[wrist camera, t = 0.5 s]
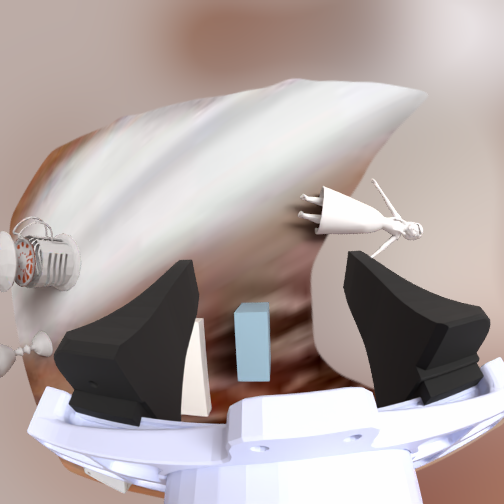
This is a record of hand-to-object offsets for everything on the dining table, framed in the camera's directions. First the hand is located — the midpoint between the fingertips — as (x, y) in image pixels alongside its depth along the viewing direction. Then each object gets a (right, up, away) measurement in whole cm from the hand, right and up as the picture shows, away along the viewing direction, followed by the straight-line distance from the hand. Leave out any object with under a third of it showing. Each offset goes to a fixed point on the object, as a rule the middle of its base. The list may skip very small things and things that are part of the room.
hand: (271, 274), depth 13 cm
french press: (-33, 0, +26) cm, 42 cm away
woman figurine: (+14, +5, +23) cm, 27 cm away
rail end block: (0, -9, +23) cm, 25 cm away
